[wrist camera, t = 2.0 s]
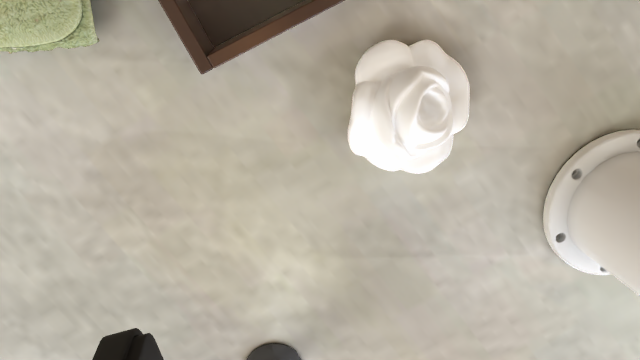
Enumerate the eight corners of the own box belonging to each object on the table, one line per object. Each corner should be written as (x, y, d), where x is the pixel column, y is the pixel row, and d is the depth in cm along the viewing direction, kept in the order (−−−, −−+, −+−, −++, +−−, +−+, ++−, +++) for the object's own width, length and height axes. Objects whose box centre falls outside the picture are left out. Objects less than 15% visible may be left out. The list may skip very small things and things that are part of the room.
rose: (313, 105, 31) (439, 4, 30) (306, 92, 35) (417, 3, 34) (401, 215, 34) (517, 129, 33) (386, 192, 39) (489, 114, 37)
